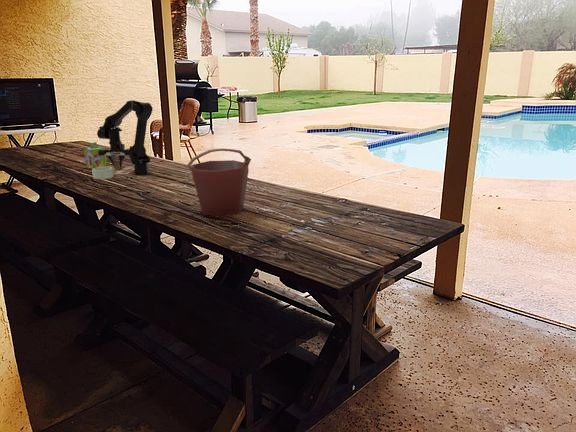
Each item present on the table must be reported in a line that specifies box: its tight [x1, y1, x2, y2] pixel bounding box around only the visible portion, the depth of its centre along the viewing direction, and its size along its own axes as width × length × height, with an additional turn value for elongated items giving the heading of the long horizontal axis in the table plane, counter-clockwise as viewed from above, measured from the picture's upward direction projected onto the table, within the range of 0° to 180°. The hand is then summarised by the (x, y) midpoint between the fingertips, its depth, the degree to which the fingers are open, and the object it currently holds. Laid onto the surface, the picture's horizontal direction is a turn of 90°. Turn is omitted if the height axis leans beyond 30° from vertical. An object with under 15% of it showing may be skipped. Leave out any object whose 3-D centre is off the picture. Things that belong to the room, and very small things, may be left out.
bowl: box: [91, 166, 114, 180], centre depth 259 cm, size 10×10×5 cm
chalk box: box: [83, 141, 109, 170], centre depth 286 cm, size 9×9×15 cm
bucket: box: [187, 148, 252, 218], centre depth 191 cm, size 24×22×25 cm
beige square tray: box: [112, 161, 134, 175], centre depth 273 cm, size 13×13×5 cm
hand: (118, 167), depth 273 cm, fingers closed on beige square tray, 3 cm apart
